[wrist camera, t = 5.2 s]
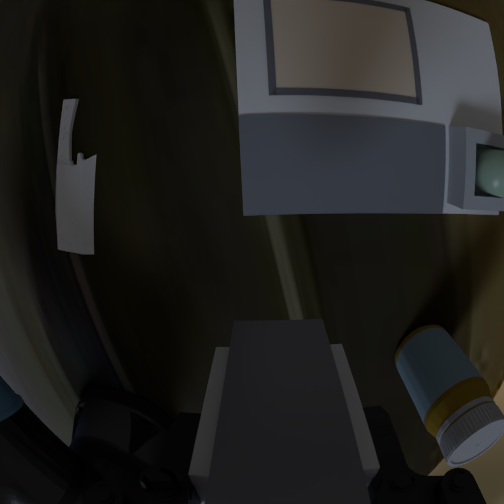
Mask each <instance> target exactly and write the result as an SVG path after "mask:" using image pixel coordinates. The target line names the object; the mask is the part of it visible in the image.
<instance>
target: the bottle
mask: <svg viewBox="0 0 504 504" xmlns="http://www.w3.org/2000/svg"><path fill="white" fill-rule="evenodd" d="M395 364H396V367H397V369H398V372H399V374H400V376H401V378H402V380H403V381H404V383H405V385H406V388H407V390H408V392H409V394H410V396H411V398H412V400H413V402H414V404H415V406H416V408H417V410H418V412H419V414H420V417H421V419H422V421H423V423H424V425H425V427H426V429H427V431H428V432H429V433H431V434H432V435H433V436H434V437H435V438H436V439H437V441H438V444H439V445H440V449H441V451H442V453H443V456H444V458H445V460H446V462H447V464H448V465H449V466H460V465H463V464H465V463H467V462H470V461H472V460H474V459H475V458H477V457H478V456H480V455H481V454H483V453H484V452H486V451H487V450H488V449H489V448H490V447H492V446H493V445H494V444H495V443H496V442H497V441H498V439H499V438H500V437H501V436H502V434H503V433H504V415H503V414H502V412H501V410H500V409H499V407H498V406H497V405H496V404H495V402H494V400H493V399H492V398H491V395H490V390H489V386H488V384H487V383H486V381H485V380H484V378H483V377H482V376H481V374H480V373H479V372H478V370H477V369H476V368H475V366H474V365H473V364H472V362H471V361H470V360H469V359H468V357H467V356H466V355H465V353H464V352H463V351H462V350H461V348H460V347H459V346H458V345H457V343H456V342H455V341H454V340H453V339H452V337H451V336H450V335H449V334H448V332H447V331H446V330H445V329H444V328H443V327H441V326H439V325H426V326H423V327H419V328H417V329H416V330H414V331H412V332H411V333H410V334H409V335H408V336H406V337H405V338H404V340H403V341H402V343H401V344H400V346H399V348H398V350H397V352H396V355H395Z"/></svg>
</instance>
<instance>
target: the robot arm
mask: <svg viewBox="0 0 504 504" xmlns="http://www.w3.org/2000/svg"><path fill="white" fill-rule="evenodd" d="M330 346H331V350H332V353H333V356H334V360H335V363H336V367H337V370H338V374H339V378H340V381H341V385H342V388H343V392H344V396H345V399H346V403H347V407H348V411H349V414H350V418H351V422H352V426H353V430H354V434H355V438H356V442H357V446H358V450H359V454H360V458H361V462H362V467H363V471H364V475H365V480H366V484H367V488H368V493H369V498H370V502H371V504H486V502H485V500H484V498H483V495H482V493H481V491H480V489H479V487H478V485H477V483H476V481H475V479H474V477H473V475H472V474H471V473H470V471H468V470H466V469H463V468H454V469H451V470H450V471H448V472H447V473H446V474H445V475H444V476H424V475H419V474H416V473H415V472H414V471H412V470H411V469H410V468H409V467H408V465H407V463H406V461H405V458H404V455H403V452H402V449H401V447H400V444H399V441H398V438H397V435H395V430H394V427H393V426H392V422H391V419H390V417H389V414H388V413H387V412H386V411H385V410H384V409H383V408H382V407H381V406H374V407H367V408H362V405H361V401H360V398H359V395H358V392H357V389H356V386H355V383H354V380H353V377H352V374H351V370H350V367H349V364H348V361H347V359H346V356H345V353H344V350H343V347H342V344H332V345H330ZM229 348H230V347H216V350H215V355H214V359H213V363H212V368H211V372H210V377H209V381H208V386H207V390H206V395H205V400H204V404H203V409H202V413H201V414H196V413H184V412H181V413H180V414H179V415H178V416H177V417H176V418H175V420H174V421H173V422H172V421H171V419H170V418H169V417H168V416H167V415H166V414H164V413H163V412H162V411H161V410H160V409H158V408H157V407H155V406H154V405H152V404H151V403H149V402H147V401H146V400H144V399H142V398H140V397H138V396H136V395H133V394H131V393H128V392H125V391H122V390H118V389H113V388H94V389H91V390H89V391H87V392H86V393H85V394H84V395H83V396H82V398H81V400H80V401H79V403H78V405H77V407H76V411H75V417H74V425H73V433H72V441H71V444H70V446H69V447H68V446H67V445H66V444H65V443H64V442H62V441H61V440H60V439H59V438H58V437H57V436H56V435H55V434H54V433H53V432H52V431H51V430H50V429H49V428H48V427H47V426H46V425H45V424H44V423H43V422H42V421H41V420H40V419H39V418H38V417H37V416H36V415H35V414H34V413H33V412H32V411H31V409H30V408H29V407H28V406H27V405H26V404H25V403H24V401H23V399H22V397H21V396H20V395H18V394H16V393H15V392H14V391H13V390H12V389H11V387H10V386H9V385H8V384H7V383H6V382H5V381H4V380H3V378H2V377H1V376H0V504H204V503H205V497H206V490H207V484H208V478H209V471H210V465H211V459H212V452H213V446H214V440H215V434H216V427H217V421H218V415H219V409H220V403H221V397H222V391H223V384H224V378H225V372H226V366H227V360H228V354H229Z"/></svg>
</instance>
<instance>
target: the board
mask: <svg viewBox="0 0 504 504" xmlns="http://www.w3.org/2000/svg"><path fill="white" fill-rule="evenodd" d="M234 18H235V42H236V65H237V87H238V109H239V134H240V154H241V175H242V194H243V214H244V216H246V215H277V214H321V213H429V214H443V213H451V214H482V215H499V211H504V198H502V197H499V196H496V195H493V194H489V193H486V192H483V191H480V190H479V189H478V188H477V187H476V186H475V174H476V152H477V151H478V150H480V149H483V148H485V149H494V150H502V151H504V135H502V112H501V99H500V89H499V80H498V73H497V66H496V60H495V54H494V48H493V43H492V38H491V34H490V29H489V25H488V23H486V22H484V21H482V20H479V19H477V18H475V17H472V16H470V15H467V14H464V13H462V12H459V11H456V10H454V9H451V8H448V7H445V6H442V5H439V4H436V3H432V2H429V1H426V0H234Z"/></svg>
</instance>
